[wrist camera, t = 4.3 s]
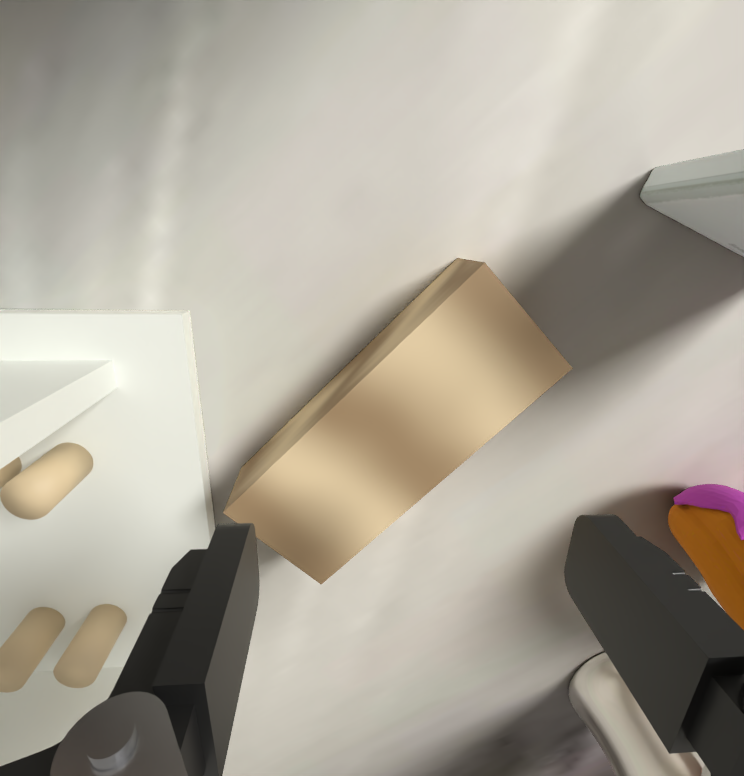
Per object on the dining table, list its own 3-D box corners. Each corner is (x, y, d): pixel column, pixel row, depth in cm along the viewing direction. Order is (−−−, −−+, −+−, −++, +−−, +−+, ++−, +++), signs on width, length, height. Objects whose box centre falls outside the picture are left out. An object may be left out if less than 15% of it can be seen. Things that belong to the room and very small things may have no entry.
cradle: (-173, 308, 17) (-564, 363, 10) (189, 310, 18) (89, 361, 11) (-20, 699, 25) (-178, 905, 17) (233, 683, 26) (191, 869, 18)
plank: (455, 257, 19) (484, 262, 15) (529, 344, 21) (572, 368, 17) (242, 464, 21) (222, 512, 18) (323, 527, 23) (321, 584, 19)
